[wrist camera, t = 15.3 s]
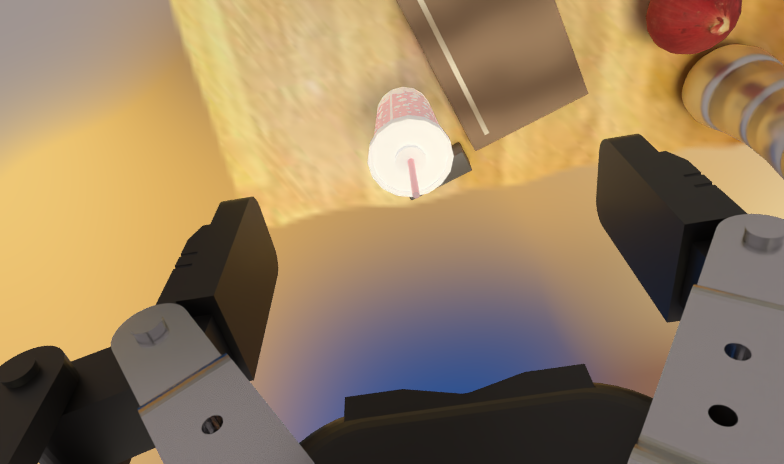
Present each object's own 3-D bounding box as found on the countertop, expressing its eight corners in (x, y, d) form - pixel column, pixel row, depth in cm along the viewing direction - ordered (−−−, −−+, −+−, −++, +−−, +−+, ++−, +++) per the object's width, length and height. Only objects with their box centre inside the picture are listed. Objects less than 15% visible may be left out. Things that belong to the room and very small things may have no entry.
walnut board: (252, -61, 37) (246, -58, 35) (470, -214, 33) (476, -219, 31) (410, 189, 49) (411, 201, 47) (585, 100, 45) (594, 109, 43)
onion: (643, -44, 39) (699, -27, 32) (718, -40, 39) (789, -23, 32) (620, 38, 42) (667, 68, 35) (690, 41, 42) (749, 71, 36)
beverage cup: (387, 157, 47) (394, 248, 35) (354, 98, 44) (349, 176, 32) (450, 127, 46) (478, 212, 34) (421, 64, 43) (441, 133, 31)
